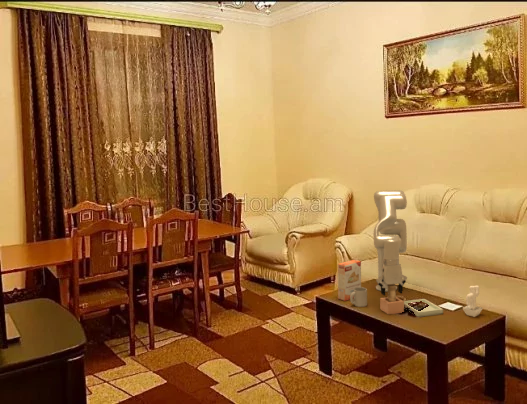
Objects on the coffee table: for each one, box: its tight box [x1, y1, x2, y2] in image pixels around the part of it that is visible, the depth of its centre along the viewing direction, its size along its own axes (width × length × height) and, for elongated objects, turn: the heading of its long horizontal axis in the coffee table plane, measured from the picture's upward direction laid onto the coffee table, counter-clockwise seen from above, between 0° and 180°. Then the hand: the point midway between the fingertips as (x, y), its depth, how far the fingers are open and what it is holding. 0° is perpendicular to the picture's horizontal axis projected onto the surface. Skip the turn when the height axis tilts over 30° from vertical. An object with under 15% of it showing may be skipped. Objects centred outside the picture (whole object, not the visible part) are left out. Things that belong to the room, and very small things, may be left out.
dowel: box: [387, 284, 397, 302], centre depth 270 cm, size 4×4×14 cm
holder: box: [379, 296, 405, 315], centre depth 270 cm, size 9×9×6 cm
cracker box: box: [337, 259, 362, 302], centre depth 294 cm, size 14×6×21 cm, turn 129°
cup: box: [349, 286, 368, 308], centre depth 281 cm, size 7×10×9 cm
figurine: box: [462, 285, 483, 318], centre depth 259 cm, size 7×9×15 cm
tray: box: [403, 298, 444, 318], centre depth 270 cm, size 18×14×2 cm
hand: (391, 293), depth 269 cm, fingers open, 9 cm apart
